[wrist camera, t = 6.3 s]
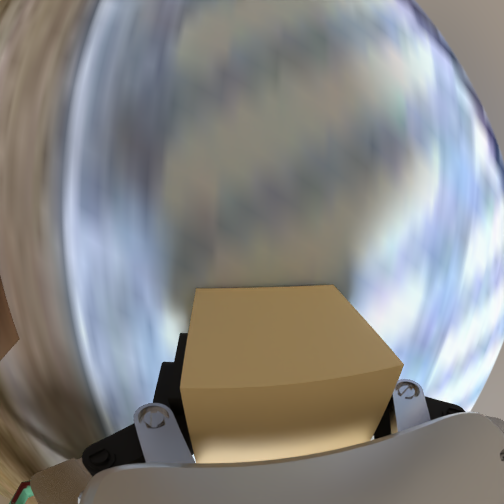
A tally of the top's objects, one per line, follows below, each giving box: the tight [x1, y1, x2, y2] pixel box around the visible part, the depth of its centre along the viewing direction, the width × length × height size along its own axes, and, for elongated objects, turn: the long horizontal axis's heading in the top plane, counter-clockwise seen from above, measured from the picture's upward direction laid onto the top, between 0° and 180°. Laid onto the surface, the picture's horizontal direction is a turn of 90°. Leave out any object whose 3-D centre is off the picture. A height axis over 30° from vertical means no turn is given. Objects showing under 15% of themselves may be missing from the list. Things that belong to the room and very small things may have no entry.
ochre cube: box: [180, 285, 404, 463], centre depth 10 cm, size 6×6×6 cm
